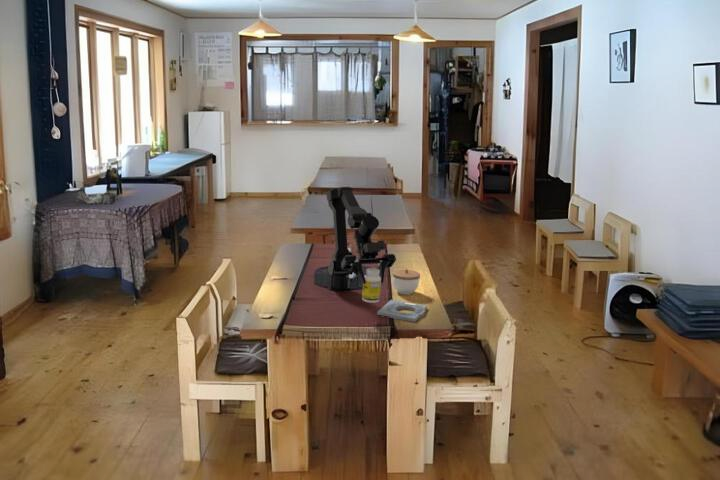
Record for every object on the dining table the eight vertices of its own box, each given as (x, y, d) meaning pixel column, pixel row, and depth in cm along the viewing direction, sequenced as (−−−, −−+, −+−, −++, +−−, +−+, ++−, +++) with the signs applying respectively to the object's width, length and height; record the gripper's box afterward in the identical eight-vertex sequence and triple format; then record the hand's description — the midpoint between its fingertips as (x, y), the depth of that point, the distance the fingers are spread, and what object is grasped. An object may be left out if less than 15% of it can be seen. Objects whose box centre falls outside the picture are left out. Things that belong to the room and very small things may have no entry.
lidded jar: (410, 298, 290) (412, 274, 287) (386, 292, 295) (387, 269, 293) (423, 292, 299) (425, 269, 296) (399, 286, 304) (401, 263, 302)
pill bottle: (360, 297, 266) (362, 267, 263) (377, 297, 267) (379, 267, 265) (364, 303, 260) (366, 272, 257) (381, 303, 262) (383, 272, 259)
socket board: (377, 315, 269) (377, 311, 268) (390, 302, 283) (391, 299, 283) (417, 322, 264) (417, 318, 264) (429, 309, 279) (429, 305, 278)
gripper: (345, 232, 258) (354, 273, 251) (396, 231, 265) (406, 270, 258) (337, 249, 268) (345, 288, 260) (386, 247, 274) (395, 285, 267)
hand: (373, 283), depth 261 cm, fingers closed on pill bottle, 6 cm apart
